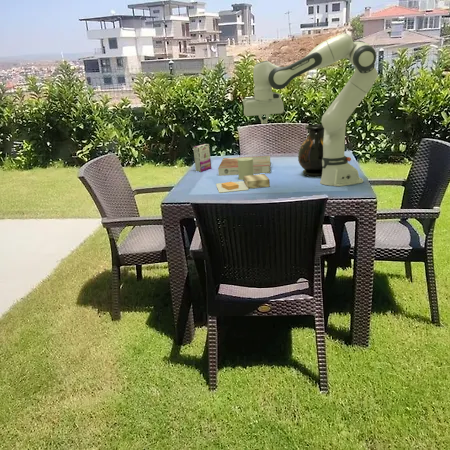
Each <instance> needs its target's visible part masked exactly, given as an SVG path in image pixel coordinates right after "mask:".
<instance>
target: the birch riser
mask: <svg viewBox="0 0 450 450" xmlns="http://www.w3.org/2000/svg"><path fill="white" fill-rule="evenodd" d="M243 181H244V183H245V184H246V186H247V187H248V189H249V190H251V189H257V188H260V189H261V188H269V187H271V186H270V178H269V177H268V176H267V175H266V173H265V174H254V175H249V176H244V180H243Z"/></svg>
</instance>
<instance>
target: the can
mask: <svg viewBox="0 0 450 450" xmlns="http://www.w3.org/2000/svg"><path fill="white" fill-rule="evenodd" d="M238 172H239V175H238V180H239V181H244V176H249V175H255V174H254V173H253V158H240V159H238Z"/></svg>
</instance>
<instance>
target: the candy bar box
mask: <svg viewBox="0 0 450 450" xmlns="http://www.w3.org/2000/svg"><path fill="white" fill-rule="evenodd" d="M193 158H194V167H195V172H196V171H199V172H198V173H202V172H205V171H208V170H211V169H212V160H211V151H210V144H209V143H203V144H200V145H196V146H193Z"/></svg>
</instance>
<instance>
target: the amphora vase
mask: <svg viewBox="0 0 450 450" xmlns="http://www.w3.org/2000/svg"><path fill="white" fill-rule="evenodd" d="M304 128H305V130H307V131H308V136H307V137H306V139H305V140H304V141H303V142H302V143H301V145H300V147H299V150H298V155H297V161H298V164H299V165H300V166H301V167H302V169H303V171H302V174H303V175H304V176H307V177H314V178H315V177H316V178H317V177H319V178H321V177H322V170H323V167H322V157H323V138H324V127H323V126H322V123H321V124H318V123H317V124H310V125H309V124H308V125H305V127H304Z"/></svg>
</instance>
